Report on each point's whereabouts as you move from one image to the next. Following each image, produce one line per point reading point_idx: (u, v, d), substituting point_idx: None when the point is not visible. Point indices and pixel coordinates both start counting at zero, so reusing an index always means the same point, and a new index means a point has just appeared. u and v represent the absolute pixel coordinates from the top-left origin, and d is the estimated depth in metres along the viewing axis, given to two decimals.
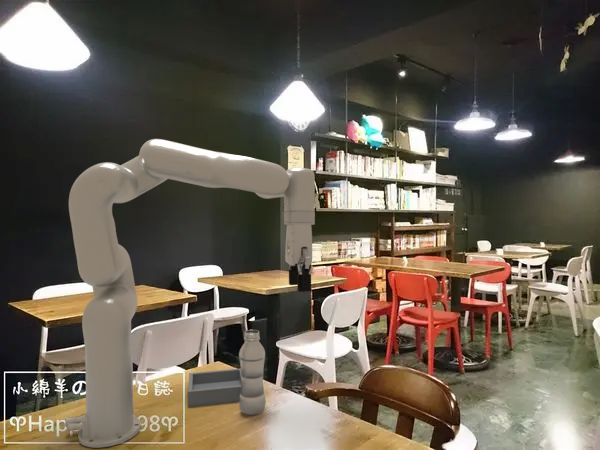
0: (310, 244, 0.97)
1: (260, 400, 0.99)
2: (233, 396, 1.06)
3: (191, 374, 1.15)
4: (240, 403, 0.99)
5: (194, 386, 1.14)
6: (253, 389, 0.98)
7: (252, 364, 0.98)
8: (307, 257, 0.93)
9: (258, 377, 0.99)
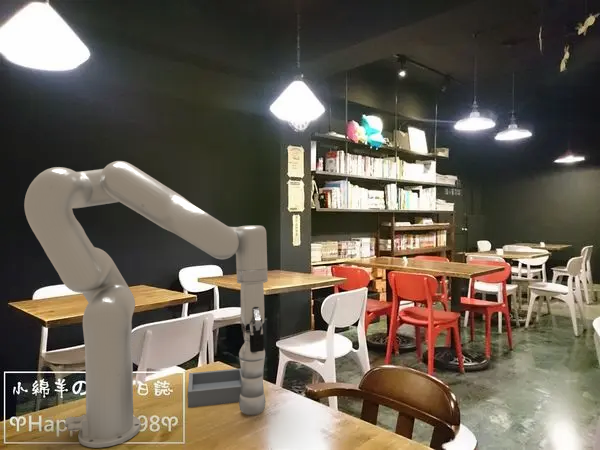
0: (261, 304, 0.96)
1: (260, 400, 0.99)
2: (233, 396, 1.06)
3: (191, 374, 1.15)
4: (240, 403, 0.99)
5: (194, 386, 1.14)
6: (253, 389, 0.98)
7: (252, 364, 0.98)
8: (256, 320, 0.92)
9: (258, 377, 0.99)
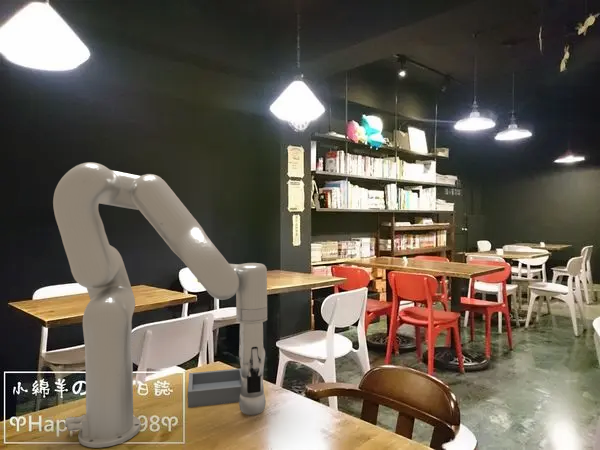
0: (260, 343, 0.96)
1: (260, 400, 0.99)
2: (233, 396, 1.06)
3: (191, 374, 1.15)
4: (240, 403, 0.99)
5: (194, 386, 1.14)
6: None
7: None
8: (254, 367, 0.94)
9: None
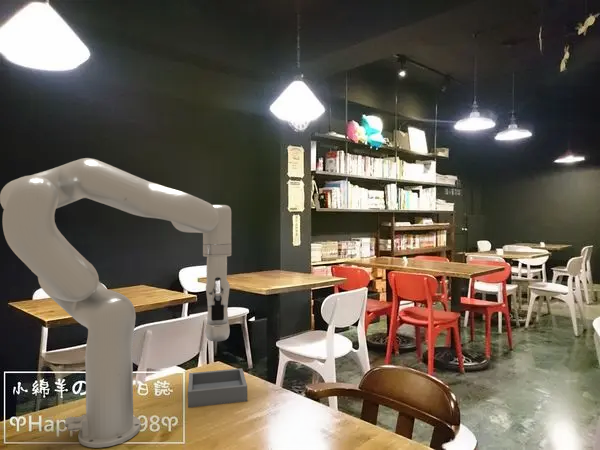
0: (223, 275, 1.06)
1: (224, 327, 1.09)
2: (233, 396, 1.06)
3: (191, 374, 1.15)
4: (206, 331, 1.09)
5: (194, 386, 1.14)
6: None
7: None
8: (216, 294, 1.04)
9: None
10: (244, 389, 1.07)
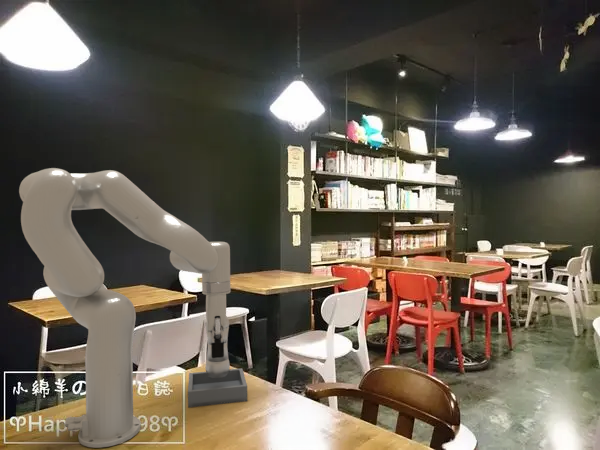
0: (223, 313, 1.07)
1: (224, 364, 1.10)
2: (233, 396, 1.06)
3: (191, 374, 1.15)
4: (206, 367, 1.10)
5: (194, 386, 1.14)
6: None
7: None
8: (217, 333, 1.04)
9: None
10: (244, 389, 1.07)
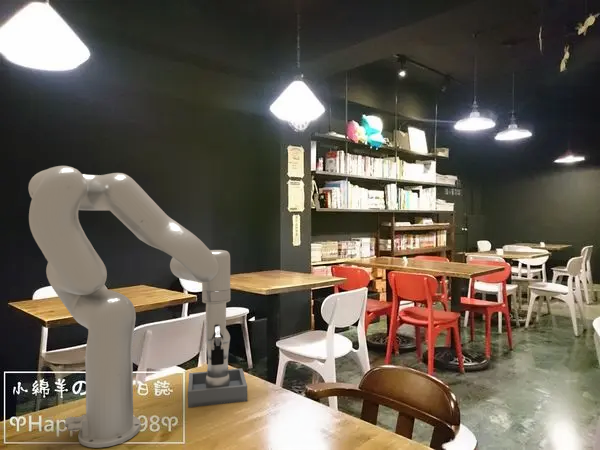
0: (223, 322, 1.07)
1: (224, 380, 1.08)
2: (233, 396, 1.06)
3: (191, 374, 1.15)
4: (206, 383, 1.09)
5: (194, 386, 1.14)
6: (218, 370, 1.08)
7: None
8: (216, 337, 1.03)
9: None
10: (244, 389, 1.07)
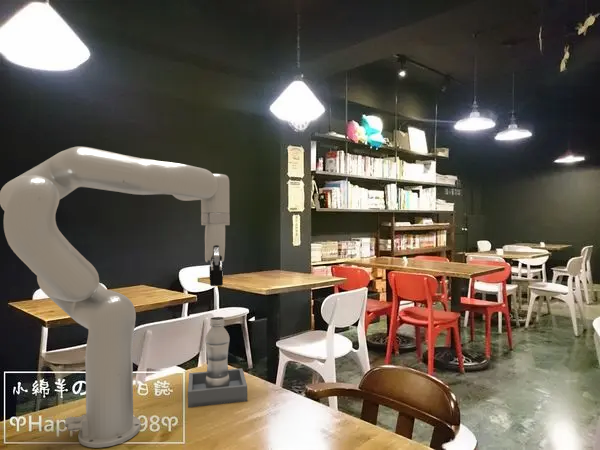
0: (222, 243, 1.07)
1: (224, 380, 1.08)
2: (233, 396, 1.06)
3: (191, 374, 1.15)
4: (206, 383, 1.09)
5: (194, 386, 1.14)
6: (217, 371, 1.08)
7: (216, 348, 1.07)
8: (215, 255, 1.03)
9: (222, 359, 1.08)
10: (244, 389, 1.07)
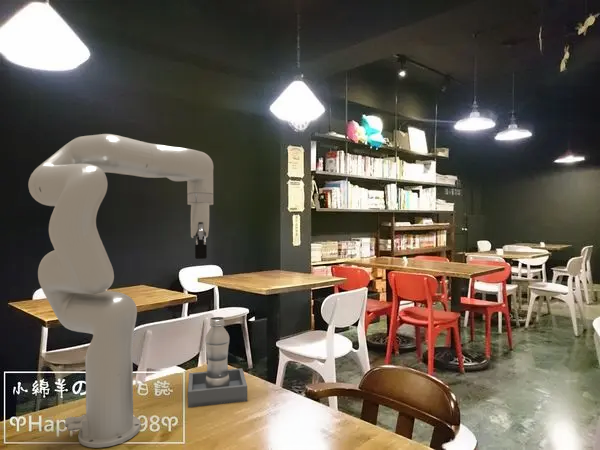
0: (206, 220, 1.18)
1: (224, 380, 1.08)
2: (233, 396, 1.06)
3: (191, 374, 1.15)
4: (206, 384, 1.09)
5: (194, 386, 1.14)
6: (217, 371, 1.08)
7: (216, 348, 1.07)
8: (199, 230, 1.14)
9: (222, 360, 1.08)
10: (244, 389, 1.07)
